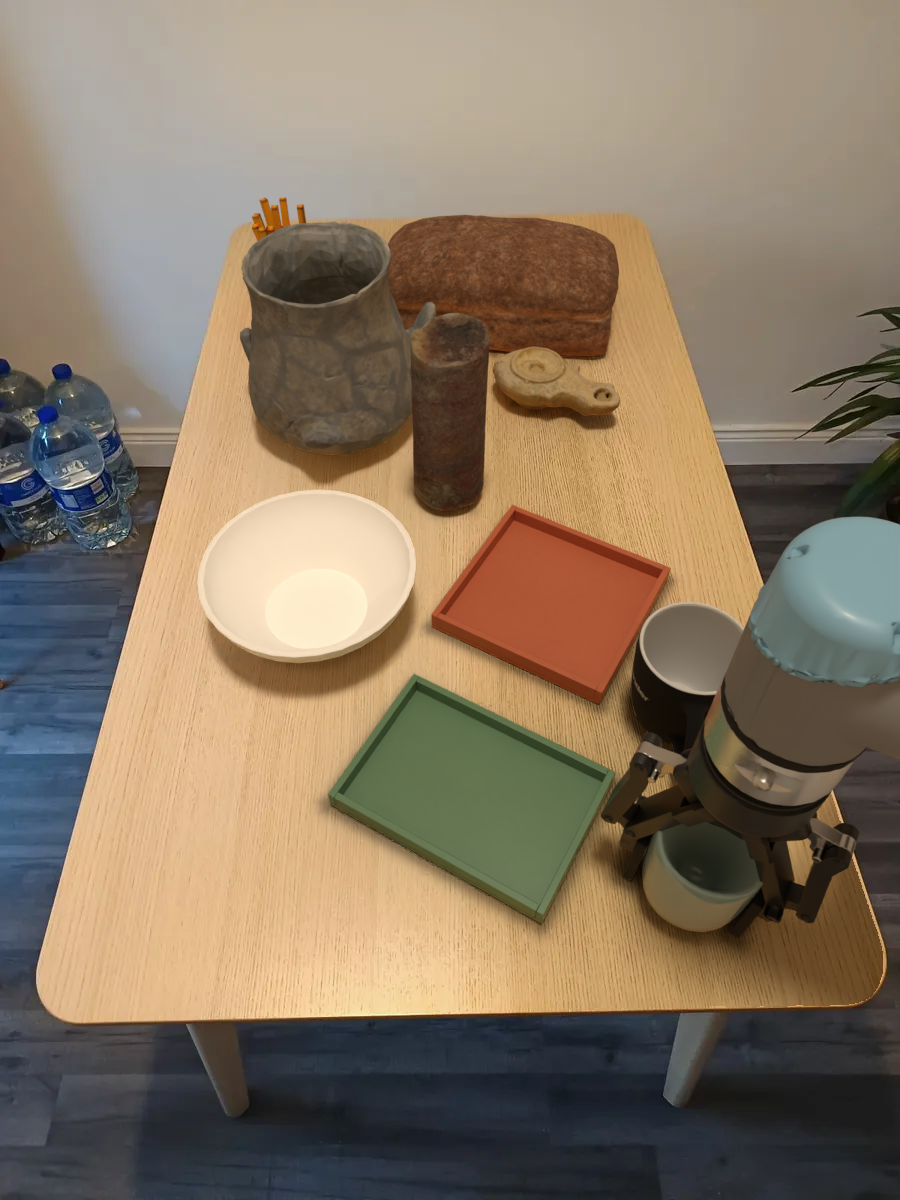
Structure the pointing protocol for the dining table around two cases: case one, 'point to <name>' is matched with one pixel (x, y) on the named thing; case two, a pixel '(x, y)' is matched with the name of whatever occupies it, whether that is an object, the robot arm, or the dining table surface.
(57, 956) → the dining table surface
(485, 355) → the candle
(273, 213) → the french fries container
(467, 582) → the terracotta tray
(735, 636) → the mug
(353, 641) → the bowl
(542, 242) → the bread
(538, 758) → the green tray
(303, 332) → the vessel
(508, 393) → the oil lamp
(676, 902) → the cup
